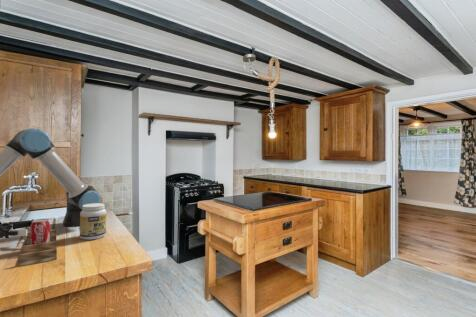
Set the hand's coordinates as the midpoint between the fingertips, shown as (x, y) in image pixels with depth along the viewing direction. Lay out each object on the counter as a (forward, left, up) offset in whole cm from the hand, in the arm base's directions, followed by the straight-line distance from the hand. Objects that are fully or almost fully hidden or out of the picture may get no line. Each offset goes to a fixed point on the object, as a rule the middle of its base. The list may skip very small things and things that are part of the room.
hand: (37, 228), depth 118 cm
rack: (-1, 0, -10) cm, 10 cm away
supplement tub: (-23, -8, -10) cm, 26 cm away
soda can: (-1, 0, -9) cm, 9 cm away
